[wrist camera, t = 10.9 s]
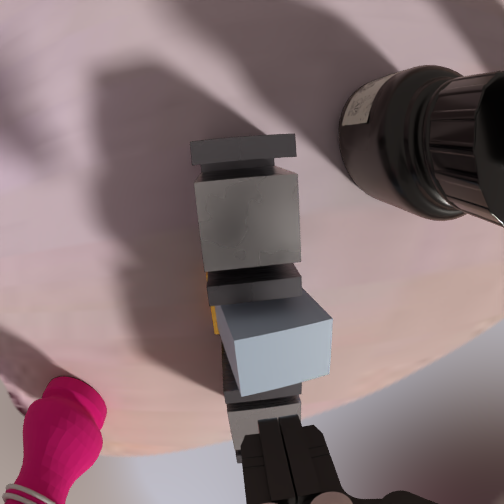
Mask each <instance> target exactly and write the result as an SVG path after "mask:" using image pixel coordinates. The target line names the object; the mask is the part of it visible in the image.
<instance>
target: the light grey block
mask: <svg viewBox="0 0 504 504" xmlns="http://www.w3.org/2000/svg"><path fill="white" fill-rule="evenodd" d="M215 312H216V319H217V325H218V330H219V333H220V336H221V339H222V342H223V345H224V348H225V351H226V354H227V357H228V360H229V363H230V366H231V369H232V372H233V374H234V377H235V380H236V383H237V386H238V389H239V391H240V394H241V397H243V396H248V395H252V394H256V393H261V392H265V391H269V390H273V389H277V388H281V387H285V386H289V385H293V384H297V383H300V382H304V381H307V380H311V379H314V378H318V377H321V376H325V375H328V374H329V373H330V359H331V343H332V324H333V318H332V317H331V316H330V315H329V314H328V313H327V312H326V311H325V310H324V309H323V308H322V307H321V306H320V305H319V304H318V303H317V302H316V301H315V300H314V299H313V298H312V297H311V296H310V295H309V294H308V293H307V292H306V291H305V290H304V289H303V288H302V296H297V297H290V298H281V299H273V300H265V301H256V302H247V303H238V304H228V305H218V306H215Z"/></svg>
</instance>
